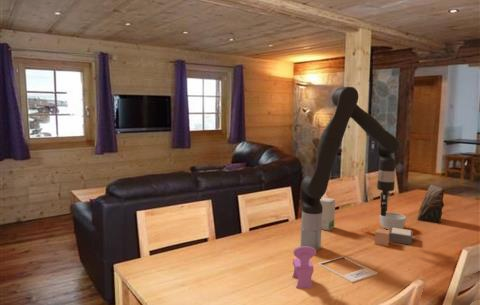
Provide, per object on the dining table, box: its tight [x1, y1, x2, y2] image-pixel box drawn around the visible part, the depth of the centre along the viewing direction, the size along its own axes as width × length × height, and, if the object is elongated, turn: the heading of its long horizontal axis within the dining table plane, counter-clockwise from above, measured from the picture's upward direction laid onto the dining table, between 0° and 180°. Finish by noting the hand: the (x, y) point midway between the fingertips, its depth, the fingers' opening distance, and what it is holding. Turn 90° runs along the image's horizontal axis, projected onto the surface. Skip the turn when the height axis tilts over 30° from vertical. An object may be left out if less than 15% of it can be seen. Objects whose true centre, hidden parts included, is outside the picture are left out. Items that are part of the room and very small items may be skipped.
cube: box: [374, 228, 390, 247], centre depth 176 cm, size 6×6×6 cm
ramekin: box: [379, 211, 407, 229], centre depth 198 cm, size 13×13×7 cm
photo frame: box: [317, 255, 379, 284], centre depth 148 cm, size 15×1×18 cm
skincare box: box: [320, 197, 336, 231], centre depth 196 cm, size 8×7×16 cm
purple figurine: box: [291, 246, 317, 289], centre depth 135 cm, size 8×9×15 cm
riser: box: [389, 227, 414, 246], centre depth 181 cm, size 10×10×4 cm
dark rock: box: [417, 183, 445, 224], centre depth 212 cm, size 13×13×20 cm
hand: (383, 213), depth 174 cm, fingers open, 8 cm apart
